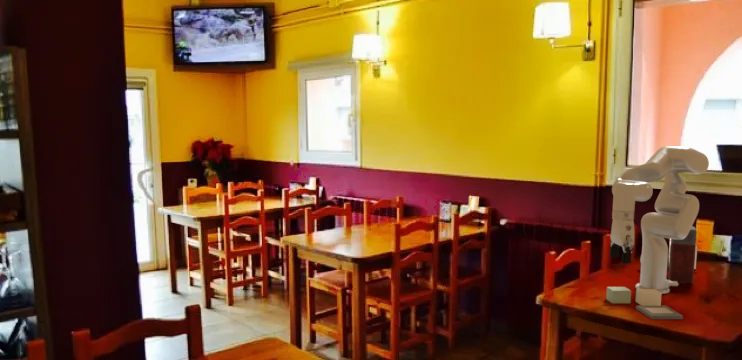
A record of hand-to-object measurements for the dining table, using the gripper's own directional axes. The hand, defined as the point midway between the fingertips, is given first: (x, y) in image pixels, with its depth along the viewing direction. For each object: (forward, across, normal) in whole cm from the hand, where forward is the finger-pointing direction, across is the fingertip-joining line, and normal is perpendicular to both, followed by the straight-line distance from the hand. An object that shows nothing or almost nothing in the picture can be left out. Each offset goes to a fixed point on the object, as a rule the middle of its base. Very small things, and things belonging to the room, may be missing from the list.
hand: (620, 260), depth 219 cm
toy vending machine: (+16, +30, -41) cm, 54 cm away
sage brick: (+16, 0, 0) cm, 16 cm away
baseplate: (+16, -14, -8) cm, 23 cm away
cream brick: (+16, -3, -10) cm, 19 cm away
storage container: (+16, +59, -58) cm, 85 cm away
